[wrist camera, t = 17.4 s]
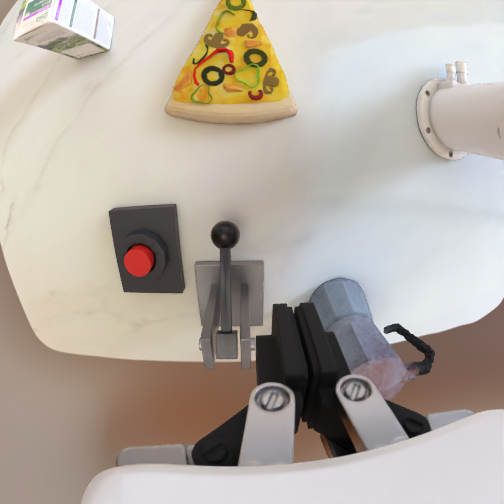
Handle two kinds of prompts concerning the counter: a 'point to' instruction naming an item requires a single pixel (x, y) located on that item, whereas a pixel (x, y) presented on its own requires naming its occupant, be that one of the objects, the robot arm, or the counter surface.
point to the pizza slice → (232, 73)
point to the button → (139, 260)
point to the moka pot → (367, 337)
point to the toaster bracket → (242, 302)
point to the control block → (149, 246)
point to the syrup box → (65, 27)
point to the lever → (226, 288)
